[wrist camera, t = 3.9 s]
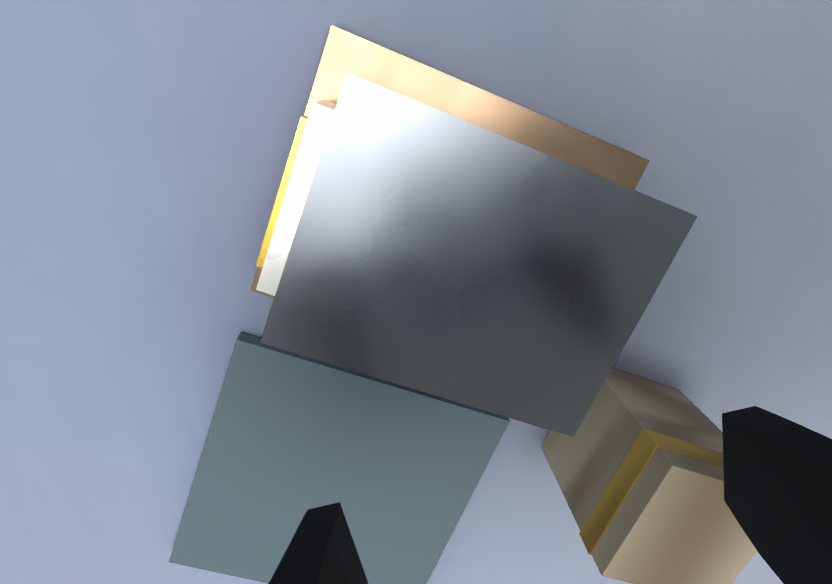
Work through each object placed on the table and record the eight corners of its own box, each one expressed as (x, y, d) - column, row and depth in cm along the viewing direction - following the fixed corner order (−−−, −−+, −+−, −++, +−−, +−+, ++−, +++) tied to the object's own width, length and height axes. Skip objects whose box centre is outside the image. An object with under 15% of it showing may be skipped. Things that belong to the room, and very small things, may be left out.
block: (680, 389, 21) (795, 501, 15) (629, 473, 22) (717, 605, 16) (587, 357, 20) (671, 463, 14) (538, 446, 21) (599, 576, 15)
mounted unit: (634, 156, 17) (759, 189, 12) (527, 367, 20) (589, 477, 14) (333, 28, 15) (311, -6, 10) (256, 279, 18) (204, 367, 12)
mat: (505, 412, 20) (509, 421, 20) (409, 601, 23) (411, 613, 23) (240, 332, 18) (236, 339, 18) (174, 549, 21) (168, 561, 21)
